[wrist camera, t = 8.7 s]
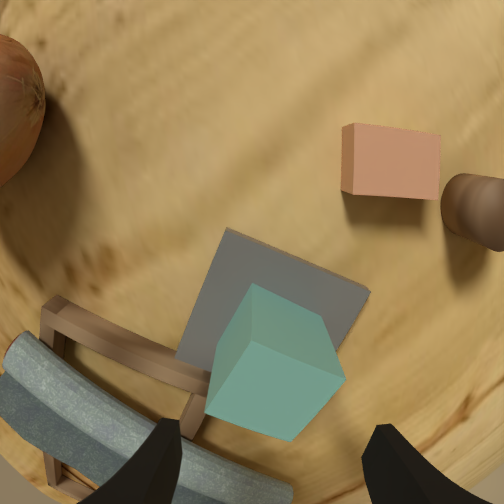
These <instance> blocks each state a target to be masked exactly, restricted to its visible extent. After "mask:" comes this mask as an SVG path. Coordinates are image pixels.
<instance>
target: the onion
mask: <svg viewBox="0 0 504 504" xmlns="http://www.w3.org/2000/svg"><path fill="white" fill-rule="evenodd" d="M45 107H46V102H45V88H44V83H43V78H42V74H41V72H40V69H39V67H38V65H37V63H36V61H35V60H34V58H33V56H32V55H31V54H30V52H29V51H28V50H27V49H26V48H25V47H24V46H23V45H22V44H20V43H19V42H18V41H16V40H14V39H12V38H9V37H7V36H4V35H1V34H0V187H1V186H3V185H4V184H5V183H6V182H7V181H9V180H10V179H11V178H12V177H13V176H14V175H15V174H16V173H17V172H18V171H19V170H20V169H21V168H22V167H23V165H24V164H25V163H26V161H27V160H28V158H29V156H30V155H31V153H32V151H33V149H34V147H35V144H36V142H37V139H38V136H39V133H40V131H41V127H42V123H43V119H44V114H45Z"/></svg>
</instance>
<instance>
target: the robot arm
mask: <svg viewBox="0 0 504 504" xmlns="http://www.w3.org/2000/svg"><path fill="white" fill-rule="evenodd" d="M182 455H183V452H182V443H181V433H180V422H179V420H174V419H168V418H161V419H160V420H159V422H158V423H157V425H156V426H155V428H154V429H153V430H152V432H151V433H150V435H149V436H148V437H147V439H146V440H145V441H144V442H143V444H142V445H141V446H140V447H139V448H138V450H137V451H136V452H135V453H134V454H133V456H132V457H131V458H130V459H129V460H128V461H127V462H126V463H125V464H124V465H123V466H122V467H121V468H120V469H119V470H118V471H117V472H116V473H115V474H114V475H113V476H112V477H111V478H110V479H109V480H108V481H107V482H105V483H104V484H103V485H102V486H101V487H99V488H98V489H97V490H96V491H94V492H93V493H91V494H90V495H89V496H87V497H86V498H84V499H83V500H82V501H80V502H78V503H77V504H171V503H172V499H173V496H174V492H175V489H176V485H177V482H178V478H179V474H180V468H181V461H182ZM361 458H362V465H363V472H364V478H365V482H366V485H367V488H368V492H369V495H370V498H371V502H372V504H492V503H489V502H487V501H485V500H483V499H481V498H479V497H477V496H475V495H473V494H471V493H470V492H468V491H466V490H465V489H463V488H461V487H460V486H458V485H457V484H456V483H454V482H453V481H451V480H450V479H448V478H447V477H446V476H445V475H443V474H442V473H441V472H440V471H439V470H437V469H436V468H435V467H434V466H433V465H432V464H431V463H429V462H428V461H427V460H426V459H425V458H424V457H423V456H422V455H421V454H420V453H419V452H418V451H417V450H416V449H415V448H414V447H413V446H412V445H411V444H410V443H409V442H408V441H407V440H406V439H405V438H404V437H403V436H402V434H401V433H400V432H399V431H398V430H397V429H396V428H395V427H394V426H393V425H392V424H382V425H377V426H376V428H375V430H374V432H373V434H372V436H371V439H370V441H369V443H368V445H367V447H366V449H365V451H364V453H363V455H362V457H361Z"/></svg>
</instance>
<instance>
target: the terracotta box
mask: <svg viewBox="0 0 504 504" xmlns="http://www.w3.org/2000/svg"><path fill="white" fill-rule="evenodd" d="M440 140H441V135H436V134H431V133H425V132H419V131H413V130H407V129H400V128H393V127H386V126H378V125H370V124H361V123H352V124H349V125H347V126H344V127H342V163H341V190H342V191H345V192H347V193H350V194H353V195H372V196H388V197H403V198H416V199H429V200H438V193H439V177H440Z"/></svg>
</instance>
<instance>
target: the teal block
mask: <svg viewBox="0 0 504 504" xmlns="http://www.w3.org/2000/svg"><path fill="white" fill-rule="evenodd" d="M345 380H346V377H345V375H344V372H343V370H342V367H341V364H340V362H339V359H338V357H337V354H336V352H335V349H334V347H333V344H332V342H331V339H330V337H329V334H328V332H327V329H326V327H325V324H324V322H323V319H322V317H321V316H320V315H318V314H316V313H314V312H311V311H309V310H307V309H305V308H303V307H301V306H299V305H297V304H295V303H293V302H291V301H289V300H287V299H284V298H282V297H280V296H278V295H276V294H274V293H272V292H270V291H268V290H266V289H264V288H262V287H260V286H258V285H256V284H254V283H252V284H251V286H250V288H249V289H248V291H247V293H246V295H245V296H244V298H243V300H242V302H241V303H240V305H239V307H238V309H237V310H236V312H235V314H234V316H233V317H232V319H231V321H230V323H229V324H228V326H227V328H226V329H225V331H224V333H223V335H222V336H221V338H220V340H219V342H218V343H217V347H216V352H215V357H214V363H213V368H212V373H211V378H210V384H209V389H208V394H207V400H206V405H205V411H204V413H206V414H208V415H211V416H214V417H216V418H219V419H221V420H224V421H227V422H230V423H232V424H235V425H238V426H241V427H244V428H247V429H250V430H252V431H256V432H259V433H262V434H265V435H268V436H271V437H275V438H278V439H281V440H285V441H288V442H291V441H292V440H293V439H294V438H295V437H296V436H297V435H298V434H299V433H300V432H301V431H302V430H303V428H304V427H305V426H306V425H307V424H308V423H309V422H310V421H311V420H312V419H313V418H314V417H315V415H316V414H317V413H318V412H319V411H320V410H321V409H322V408H323V406H324V405H325V404H326V403H327V402H328V401H329V399H330V398H331V397H332V396H333V395H334V394H335V392H336V391H337V390H338V389H339V388H340V386H341V385H342V384H343V383H344V382H345Z"/></svg>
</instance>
